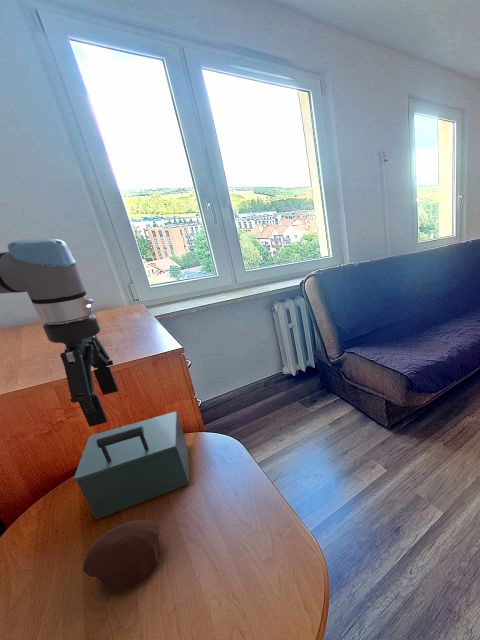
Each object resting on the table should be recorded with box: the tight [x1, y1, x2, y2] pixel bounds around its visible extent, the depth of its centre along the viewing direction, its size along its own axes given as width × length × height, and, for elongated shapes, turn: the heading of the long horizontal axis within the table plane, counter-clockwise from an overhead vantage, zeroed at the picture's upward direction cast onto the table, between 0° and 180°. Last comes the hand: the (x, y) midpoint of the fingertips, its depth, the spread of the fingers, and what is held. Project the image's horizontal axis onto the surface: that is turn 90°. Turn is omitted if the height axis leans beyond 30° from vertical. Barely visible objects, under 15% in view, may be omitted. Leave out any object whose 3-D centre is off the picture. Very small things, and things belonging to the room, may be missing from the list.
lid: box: [72, 411, 178, 483], centre depth 84 cm, size 17×19×8 cm
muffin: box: [82, 520, 161, 593], centre depth 67 cm, size 12×11×10 cm
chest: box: [76, 414, 190, 520], centre depth 88 cm, size 16×19×13 cm
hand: (105, 407), depth 74 cm, fingers open, 13 cm apart
